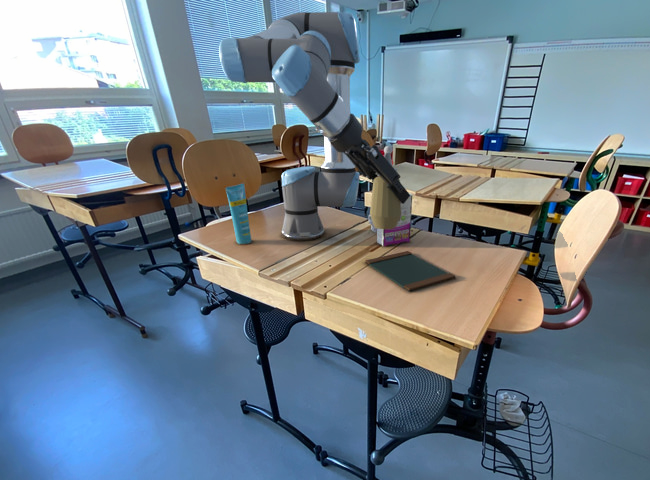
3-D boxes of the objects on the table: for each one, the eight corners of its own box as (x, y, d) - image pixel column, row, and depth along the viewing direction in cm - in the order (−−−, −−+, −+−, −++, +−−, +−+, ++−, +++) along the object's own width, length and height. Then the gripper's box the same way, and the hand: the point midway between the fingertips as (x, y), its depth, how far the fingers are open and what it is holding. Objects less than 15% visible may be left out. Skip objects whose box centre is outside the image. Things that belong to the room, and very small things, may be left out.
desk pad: (365, 263, 103) (365, 260, 102) (407, 253, 110) (407, 250, 109) (409, 292, 86) (409, 289, 86) (455, 278, 93) (455, 275, 93)
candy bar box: (402, 238, 123) (405, 191, 115) (410, 242, 119) (413, 194, 111) (375, 242, 119) (376, 194, 111) (383, 247, 115) (384, 198, 107)
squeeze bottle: (382, 220, 93) (384, 149, 84) (406, 226, 89) (411, 152, 80) (363, 227, 88) (363, 152, 79) (388, 233, 83) (391, 155, 75)
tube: (242, 246, 114) (232, 187, 105) (231, 244, 116) (220, 186, 106) (257, 239, 120) (248, 183, 111) (246, 237, 122) (236, 182, 112)
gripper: (310, 136, 78) (369, 200, 94) (349, 143, 64) (411, 217, 79) (329, 110, 78) (385, 178, 94) (373, 111, 64) (431, 191, 79)
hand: (397, 196), depth 86 cm, fingers closed on squeeze bottle, 6 cm apart
